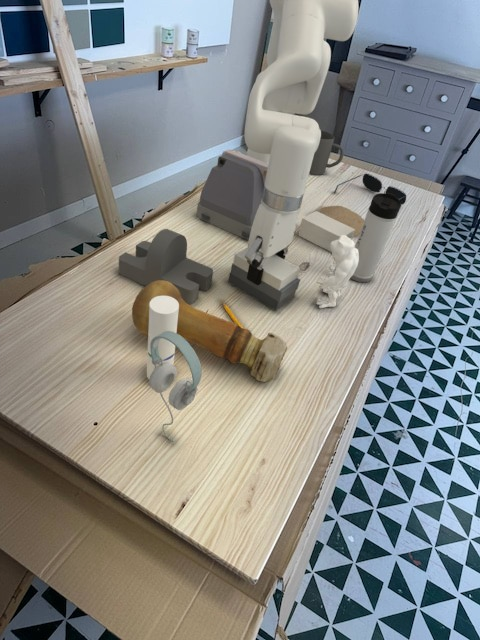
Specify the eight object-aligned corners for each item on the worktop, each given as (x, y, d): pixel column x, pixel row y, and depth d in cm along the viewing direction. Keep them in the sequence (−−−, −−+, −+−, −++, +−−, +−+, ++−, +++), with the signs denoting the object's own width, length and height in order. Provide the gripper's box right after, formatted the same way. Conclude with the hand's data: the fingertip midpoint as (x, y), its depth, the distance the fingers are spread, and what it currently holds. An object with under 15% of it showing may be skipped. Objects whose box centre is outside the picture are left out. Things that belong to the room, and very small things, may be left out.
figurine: (336, 318, 98) (359, 258, 88) (307, 307, 99) (326, 246, 89) (347, 292, 106) (370, 234, 96) (320, 282, 107) (339, 224, 97)
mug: (295, 169, 157) (303, 133, 150) (303, 161, 164) (312, 127, 157) (333, 182, 154) (343, 146, 147) (340, 173, 161) (350, 138, 153)
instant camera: (294, 223, 127) (308, 171, 118) (247, 247, 114) (257, 190, 104) (236, 193, 136) (244, 142, 126) (185, 212, 123) (190, 156, 113)
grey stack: (227, 282, 101) (231, 263, 98) (247, 270, 106) (251, 252, 103) (276, 311, 96) (281, 292, 93) (294, 298, 101) (300, 279, 98)
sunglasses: (403, 208, 147) (408, 193, 143) (374, 223, 140) (379, 208, 136) (361, 185, 156) (365, 171, 152) (332, 198, 149) (335, 184, 145)
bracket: (143, 253, 105) (144, 210, 98) (213, 283, 100) (219, 240, 93) (116, 272, 98) (115, 227, 91) (190, 305, 93) (195, 260, 86)
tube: (147, 364, 79) (150, 294, 70) (172, 365, 80) (179, 296, 70) (145, 383, 76) (148, 312, 67) (172, 384, 77) (178, 314, 67)
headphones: (138, 428, 69) (141, 328, 57) (159, 414, 72) (166, 315, 59) (177, 464, 66) (189, 366, 53) (197, 447, 68) (213, 350, 56)
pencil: (266, 368, 83) (266, 365, 83) (219, 303, 95) (220, 300, 95) (269, 367, 84) (270, 364, 83) (223, 302, 96) (223, 300, 95)
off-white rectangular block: (297, 235, 123) (302, 218, 119) (311, 227, 127) (316, 210, 124) (337, 255, 118) (343, 238, 114) (350, 246, 122) (355, 229, 119)
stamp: (275, 397, 78) (275, 326, 69) (132, 363, 86) (115, 296, 77) (292, 358, 85) (294, 290, 76) (158, 330, 94) (146, 265, 85)
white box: (233, 264, 98) (234, 253, 96) (252, 252, 103) (254, 243, 101) (279, 290, 93) (281, 280, 92) (297, 277, 98) (300, 268, 96)
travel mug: (374, 273, 114) (405, 197, 101) (368, 286, 109) (400, 208, 96) (349, 264, 115) (377, 188, 103) (343, 276, 110) (371, 198, 98)
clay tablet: (367, 226, 133) (370, 217, 131) (353, 238, 126) (356, 229, 124) (323, 207, 138) (326, 198, 137) (307, 217, 131) (309, 208, 130)
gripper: (291, 179, 95) (273, 253, 106) (238, 201, 83) (224, 282, 94) (322, 193, 92) (300, 268, 103) (271, 218, 80) (253, 299, 91)
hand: (264, 274), depth 98 cm, fingers closed on grey stack, white book, 7 cm apart
